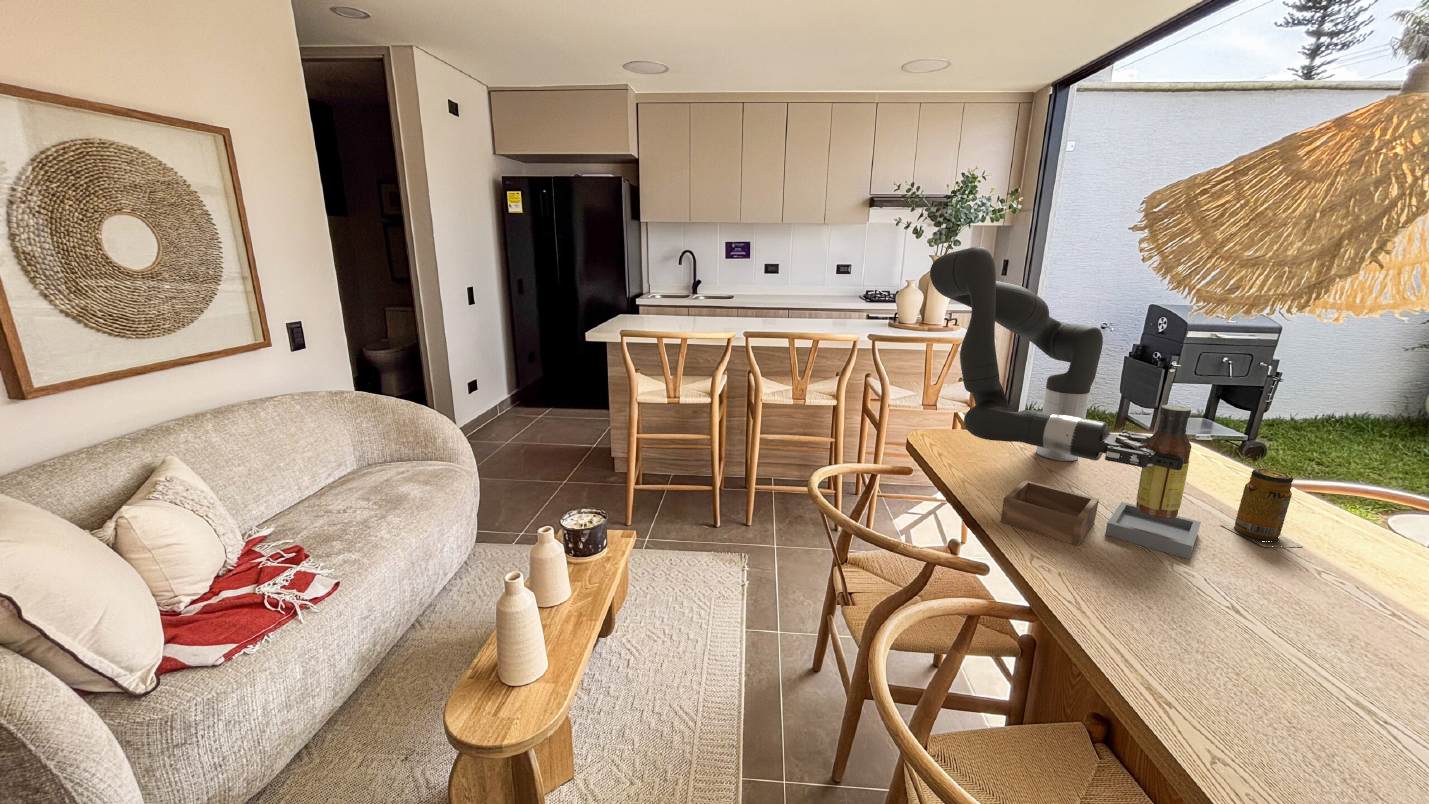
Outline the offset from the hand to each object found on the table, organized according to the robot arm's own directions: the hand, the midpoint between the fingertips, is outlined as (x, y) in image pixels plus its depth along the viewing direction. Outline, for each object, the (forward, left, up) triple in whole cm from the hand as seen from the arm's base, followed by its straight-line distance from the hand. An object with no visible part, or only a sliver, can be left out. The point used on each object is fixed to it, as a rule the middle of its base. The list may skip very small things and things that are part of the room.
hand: (1185, 459), depth 95 cm
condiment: (-13, +12, -16) cm, 24 cm away
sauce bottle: (0, -2, -11) cm, 11 cm away
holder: (+8, -17, -16) cm, 24 cm away
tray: (0, -2, -16) cm, 16 cm away
